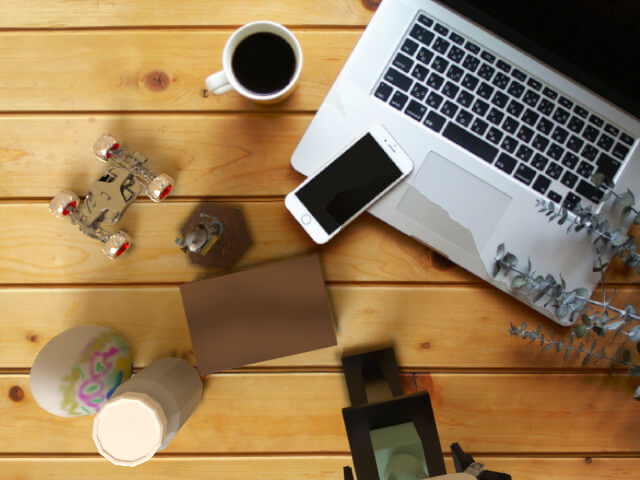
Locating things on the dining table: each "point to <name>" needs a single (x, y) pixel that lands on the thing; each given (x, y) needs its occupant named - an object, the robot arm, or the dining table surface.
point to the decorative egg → (80, 370)
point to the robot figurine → (215, 236)
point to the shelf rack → (258, 314)
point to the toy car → (112, 195)
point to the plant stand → (385, 410)
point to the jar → (147, 411)
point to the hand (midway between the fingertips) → (403, 470)
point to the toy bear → (399, 453)
